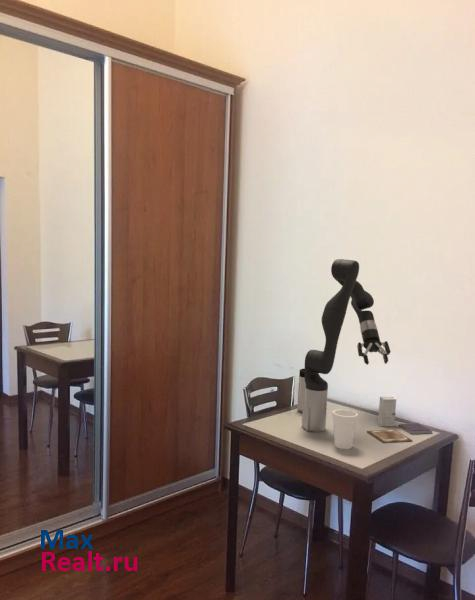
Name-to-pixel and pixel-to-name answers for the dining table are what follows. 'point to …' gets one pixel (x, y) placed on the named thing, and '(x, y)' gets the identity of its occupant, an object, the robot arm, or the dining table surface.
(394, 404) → the skincare box
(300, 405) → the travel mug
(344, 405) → the dining table surface
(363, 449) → the dining table surface
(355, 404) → the dining table surface
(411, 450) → the dining table surface
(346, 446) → the foam cup
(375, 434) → the marked board
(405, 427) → the ink pad
